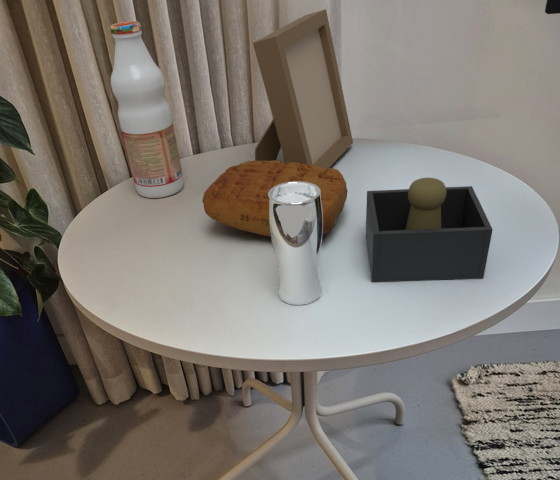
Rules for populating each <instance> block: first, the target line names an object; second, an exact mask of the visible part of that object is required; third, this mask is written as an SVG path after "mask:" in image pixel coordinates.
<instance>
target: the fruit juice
mask: <svg viewBox="0 0 560 480" xmlns="http://www.w3.org/2000/svg"><path fill="white" fill-rule="evenodd" d="M110 34H111V35H112V38H113V39H114V43H115V44H114V59H113V69H112V72H111V76H110V87H111V90H112V93H113V96H114V97H115V99H116V101H117V104H118V109H117V117H118V122H119V128H120V131H121V136H122V139H123V143H124V147H125V152H126V155H127V159H128V164H129V167H130V172H131V175H132V179H133V183H134V188H135V190H136V193H137V194H138V195H139V196H140V197H144V198H148V199H159V198H166V197H170V196H172V195H175V194H176V193H179V192H180V191H182V189H183V188H184V185H185V182H184V175H183V169H182V164H181V159H180V154H179V153H180V152H179V147H178V142H177V137H176V132H175V127H174V120H173V116H172V111H171V107H170V106H169V103H168V102H167V100H166V97H165V88H166V87H165V86H166V85H165V84H166V83H165V78H164V75H163V72H162V70H161V69H160V67H158V65H157V64H156V62H155V61H154V59H153V58H152V56H151V54H150V52H149V50H148V48H147V46H146V44H145V42H144V41H143V38H142V34H143V32H142V26H141V22H140V21H137V20H128V21H127V20H126V21H119V22H116V23H113V24H111V25H110Z"/></svg>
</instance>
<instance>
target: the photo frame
mask: <svg viewBox="0 0 560 480" xmlns="http://www.w3.org/2000/svg"><path fill="white" fill-rule="evenodd" d="M328 17H329V16H328V12H327V8H325V9H322V10H318V11H314V12H311V13H308V14H305V15H303V16H301V17H298V18H297V19H295V20H293V21H291V22H290V23H288V24H285V25H284V26H282V27H280V28H278V29H276V30H274V31H273V32H270V33H269V34H266V35H264V36H263V37H261V38H259V39H257V40H256V41H253V42H252V46H253V49H254V53H255V56H256V60H257V64H258V67H259V71H260V75H261V79H262V83H263V85H264V89H265V93H266V97H267V100H268V105H269V109H270V111H271V115H272V120H271V121H270V123H269V125H268V126H267V128H266V129H265V131H264V133H263V135H262V137H261V138H260V139H259V141H258V143H257V144H256V146H255V148H254V161H272V160H277V159H278V157H279V154H280V151H281V152H282V155H283V159H284V163H286V162H296V163H300V164H306V165H308V164H312V165H315V166H318V167H324V168H331V167H332V166H333V165H334V164H335V163H336V161H338V159H339V158H340V157H341V156H342V155H343V154H344V153H346V151H347V150H348V149H349V148H350V147H351V146H352V145H353V144H354V140H353V135H352V130H351V126H350V121H349V116H348V110H347V105H346V99H345V96H344V91H343V86H342V81H341V77H340V72H339V67H338V62H337V57H336V51H335V46H334V41H333V37H332V32H331V27H330V21H329V18H328ZM277 161H278V160H277Z"/></svg>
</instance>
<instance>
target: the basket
mask: <svg viewBox="0 0 560 480" xmlns="http://www.w3.org/2000/svg"><path fill="white" fill-rule="evenodd" d="M445 187H446V191H447V193H446V198H445V200H444V203H443V204H442V205H441V229H421V230H405V229H406V225H407V221H408V216H409V212H410V207H411V204H410V202H409V199H408V190H409V188H404V189H403V188H401V189H381V190H379V189H378V190H367V191H366V207H365V208H366V209H365V242H366V249H367V257H368V265H369V272H370V280H371V283H389V282H411V281H412V282H416V281H417V282H419V281H444V280H447V281H451V280H477V279H479V280H480V279H484V277H485V272H486V267H487V261H488V257H489V251H490V246H491V241H492V236H493V231H494V230H493V227H492V225H491V222H490V220H489V218H488V217H487V215H486V213H485V210H484V209H483V206H482V204H481V201H480V200H479V198H478V196H477V193H476V192H475V189H474V187H473V186H472V185H469V186H445Z"/></svg>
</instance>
